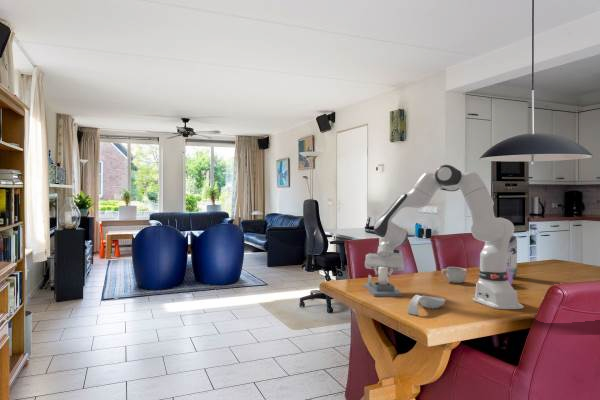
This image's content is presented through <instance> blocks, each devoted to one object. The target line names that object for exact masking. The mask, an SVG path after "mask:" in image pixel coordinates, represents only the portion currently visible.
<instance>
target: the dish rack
mask: <svg viewBox="0 0 600 400" xmlns="http://www.w3.org/2000/svg"><path fill="white" fill-rule="evenodd" d="M372 277H373V276H372V275H371V274H368V282H363V287H364V288H365V289H366V290H367V291H368V292H369V293H370V294H371V295H372V296H373V297H376V298H380V297H382V298H383V297H384V298H385V297H387V298H388V297H403V296H404V295H403V294H404V293H403V292H402V291H400V290H399V289H397V288H396V287H395V285H394V284H393V283H391V281H388V286H378V281H372V279H373V278H372Z"/></svg>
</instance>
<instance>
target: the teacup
mask: <svg viewBox="0 0 600 400" xmlns="http://www.w3.org/2000/svg"><path fill="white" fill-rule="evenodd" d="M444 272H445V273H444ZM445 274H446V275H445ZM441 275H442V276H443V277H444V278H445V279H446V280H448V281H449V282H450V283H453V284H462V283H464V282H465V281H466V278H467V269H466V268H463V267H459V266H447V267H446V268H442V270H441Z"/></svg>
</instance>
